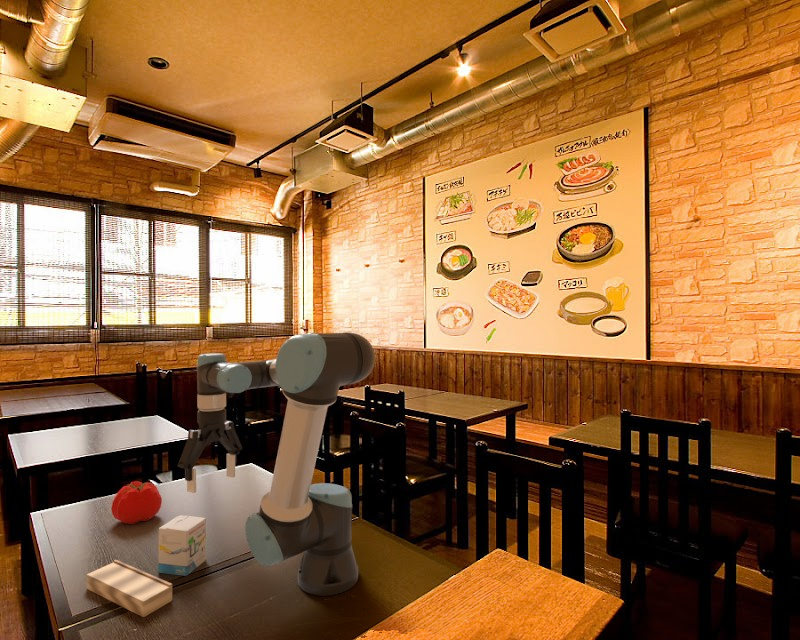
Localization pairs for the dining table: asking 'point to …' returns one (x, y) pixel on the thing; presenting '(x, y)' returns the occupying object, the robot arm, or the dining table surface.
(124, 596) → the plank
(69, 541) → the dining table surface
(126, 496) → the tomato
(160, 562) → the ink box
